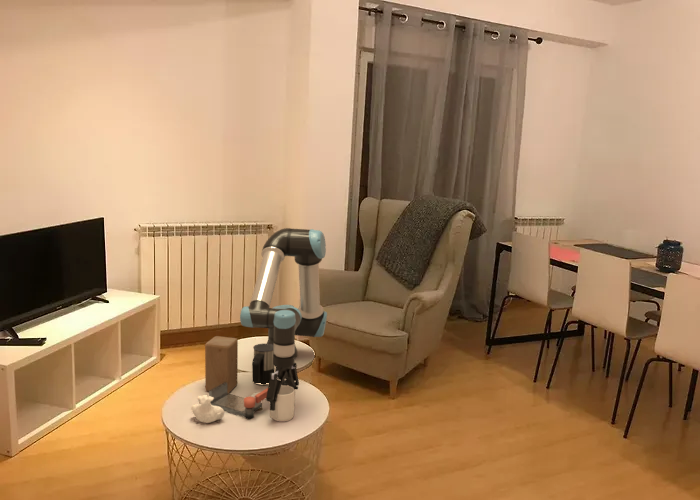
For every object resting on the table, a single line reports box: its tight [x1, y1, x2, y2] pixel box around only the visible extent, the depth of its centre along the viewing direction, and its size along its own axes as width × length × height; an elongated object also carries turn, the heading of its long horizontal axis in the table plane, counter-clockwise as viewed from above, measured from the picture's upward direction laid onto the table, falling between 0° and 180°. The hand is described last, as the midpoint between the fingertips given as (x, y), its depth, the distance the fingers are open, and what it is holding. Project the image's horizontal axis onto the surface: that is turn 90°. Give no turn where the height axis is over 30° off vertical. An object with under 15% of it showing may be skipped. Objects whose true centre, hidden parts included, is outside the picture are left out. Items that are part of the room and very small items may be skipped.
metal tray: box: [208, 382, 263, 420], centre depth 216 cm, size 10×20×6 cm, turn 63°
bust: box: [190, 394, 225, 424], centre depth 204 cm, size 12×8×11 cm
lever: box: [243, 379, 279, 408], centre depth 215 cm, size 20×4×6 cm, turn 153°
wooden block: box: [204, 335, 239, 394], centre depth 231 cm, size 10×10×20 cm
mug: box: [272, 385, 296, 422], centre depth 212 cm, size 12×8×10 cm
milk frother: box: [251, 343, 289, 386], centre depth 237 cm, size 14×16×15 cm
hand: (282, 411), depth 212 cm, fingers closed on mug, 11 cm apart
